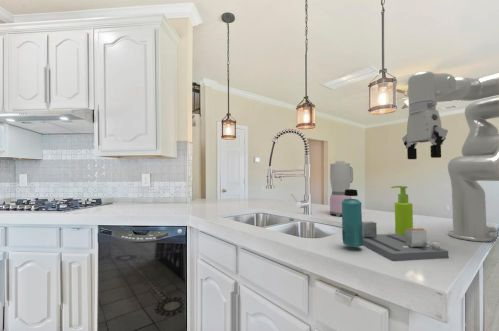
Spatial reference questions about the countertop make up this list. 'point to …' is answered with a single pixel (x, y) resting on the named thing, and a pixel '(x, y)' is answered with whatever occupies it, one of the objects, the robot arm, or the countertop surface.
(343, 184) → the blender
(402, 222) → the soap dispenser
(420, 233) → the fader tab
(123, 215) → the countertop surface
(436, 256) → the console
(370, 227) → the fader tab
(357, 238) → the beverage bottle
